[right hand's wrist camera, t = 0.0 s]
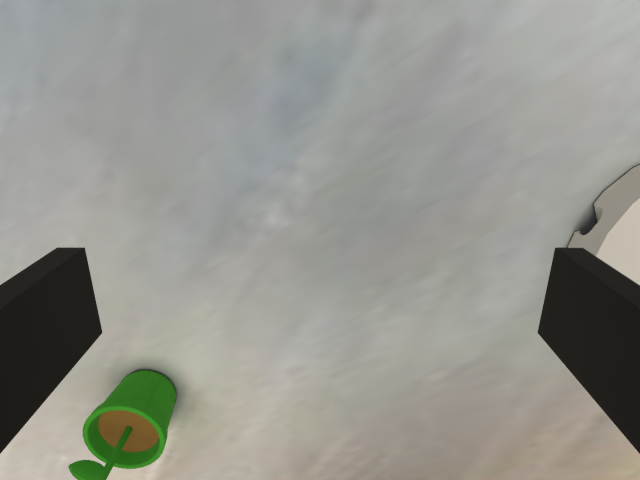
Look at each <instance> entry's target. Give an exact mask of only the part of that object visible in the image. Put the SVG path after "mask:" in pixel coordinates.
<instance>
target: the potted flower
mask: <svg viewBox="0 0 640 480" xmlns="http://www.w3.org/2000/svg"><path fill="white" fill-rule="evenodd" d="M175 401H176V392H175V389H174V387H173V385H172V383H171V382H170V381H169V380H168V379H167V378H166V377H164V376H163V375H161V374H159V373H156V372H153V371H147V370H144V371H136V372H134V373H131V374H129V375H128V376H126V377H125V378H124V379H123V380H122V381H121V383H120V384H119V385H118V386H117V387H116V389H115V390H114V391H113V392H112V393H111V394H110V396H109V397H108V398H107V399H106V400H105V402H104V403H103V404H101V405H99V406H98V407H97V408H96V409H95V410H94V411H93V412H92V414H91V415H90V416H89V417H88V418H87V420H86V422H85V424H84V427H83V438H84V441H85V444H86V445H87V447H88V449H89V450H90V451H91V453H92V454H93V455H94V456H96V457H97V458H98V459H100V460H101V461H103V462H105V463H106V465H105V467H104V466H103V465H101V464H100V463H97V462H95V461H90V460H81V461H77V462H74V463H72V464H70V465H69V469H70V472H71V473H72V475H73V476H74V477H75V478H76V479H78V480H106V479H107V477H108V475H109V473H110V471H111V469H112V467H113V466H115V467H119V468H126V469H135V468H140V467H144V466H147V465H149V464H151V463H153V462H154V461H156V460H157V459H158V458H159V457H160V455H161V454H162V452H163V450H164V447H165V443H166V439H167V429H168V425H169V422H170V418H171V415H172V412H173V408H174V405H175Z"/></svg>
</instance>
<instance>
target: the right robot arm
mask: <svg viewBox="0 0 640 480" xmlns="http://www.w3.org/2000/svg"><path fill="white" fill-rule="evenodd" d="M101 334H102V329H101V324H100V319H99V314H98V310H97V305H96V300H95V295H94V290H93V286H92V281H91V276H90V271H89V266H88V261H87V257H86V252H85V248H56V249H55V250H53V251H52V252H50V253H49V254H47V255H45V256H44V257H42V258H41V259H39V260H38V261H36V262H35V263H33V264H32V265H30V266H29V267H27V268H26V269H24V270H23V271H21V272H20V273H18V274H17V275H15V276H14V277H12V278H11V279H9V280H8V281H6V282H4V283H3V284H1V285H0V453H1V452H2V451H3V450H4V449H5V447H6V446H7V445H8V444H9V443H10V441H11V440H12V439H13V438H14V437H15V436H16V434H17V433H18V432H19V431H20V430H21V428H22V427H23V426H24V425H25V424H26V423H27V421H28V420H29V419H30V418H31V417H32V415H33V414H34V413H35V412H36V411H37V409H38V408H39V407H40V406H41V405H42V404H43V402H44V401H45V400H46V399H47V398H48V396H49V395H50V394H51V393H52V392H53V391H54V389H55V388H56V387H57V386H58V385H59V383H60V382H61V381H62V380H63V379H64V377H65V376H66V375H67V374H68V373H69V372H70V370H71V369H72V368H73V367H74V366H75V364H76V363H77V362H78V361H79V360H80V358H81V357H82V356H83V355H84V354H85V353H86V351H87V350H88V349H89V348H90V347H91V345H92V344H93V343H94V342H95V341H96V340H97V338H98V337H99V336H100V335H101ZM538 334H539V335H540V336H541V337H542V338H543V340H544V341H545V342H546V343H547V344H548V345H549V347H550V348H551V349H552V350H553V351H554V353H555V354H556V355H557V356H558V357H559V358H560V360H561V361H562V362H563V363H564V364H565V366H566V367H567V368H568V369H569V370H570V372H571V373H572V374H573V375H574V376H575V377H576V379H577V380H578V381H579V382H580V383H581V385H582V386H583V387H584V388H585V389H586V391H587V392H588V393H589V394H590V395H591V396H592V398H593V399H594V400H595V401H596V402H597V404H598V405H599V406H600V407H601V408H602V409H603V411H604V412H605V413H606V414H607V415H608V417H609V418H610V419H611V420H612V421H613V423H614V424H615V425H616V426H617V427H618V428H619V430H620V431H621V432H622V433H623V434H624V436H625V437H626V438H627V439H628V440H629V441H630V443H631V444H632V445H633V446H634V447H635V449H636V450H637V451H638V452H639V453H640V285H639V284H637V283H635V282H634V281H632V280H631V279H629V278H628V277H626V276H625V275H623V274H622V273H620V272H619V271H617V270H616V269H614V268H613V267H611V266H610V265H608V264H607V263H605V262H604V261H602V260H601V259H599V258H598V257H596V256H595V255H593V254H591V253H590V252H588V251H587V250H585V249H584V248H555V252H554V257H553V261H552V266H551V271H550V276H549V281H548V286H547V290H546V295H545V300H544V305H543V310H542V314H541V319H540V324H539V329H538Z"/></svg>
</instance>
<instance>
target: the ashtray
mask: <svg viewBox="0 0 640 480" xmlns="http://www.w3.org/2000/svg"><path fill="white" fill-rule="evenodd" d="M594 208H595V212H596V217H597V221H598V223H597V224H596V225H595V226H594V227H593V229H592V230H591V231H590V232H589V233H588V234H586V235H581V234H580V231H575V233H574V235H573V237H572V239H571V241H570V243H569V245H568V247H567V248H584V249H585V250H587V251H588V252H590V253H591V254H593V255H595V256H596V257H598V258H599V259H601V260H602V261H604V262H605V263H607V264H608V265H610V266H611V267H613V268H614V269H616V270H617V271H619V272H620V273H622V274H623V275H625V276H626V277H628V278H629V279H631V280H632V281H634V282H635V283H637V284H639V285H640V165H638V166H636V167H634V168H632V169H631V170H630V171H628V172H627V173H626V174H625V175H623V176H622V177H621V178H620V179H619V180H617V181H616V182H615V183H614V184H612V185H611V186H610V187H609V188H607V189H606V190H605V191H604V192H603V193H602V194H601V195H600V197H599V198H598V199H597V200H596V202H595V203H594Z"/></svg>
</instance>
